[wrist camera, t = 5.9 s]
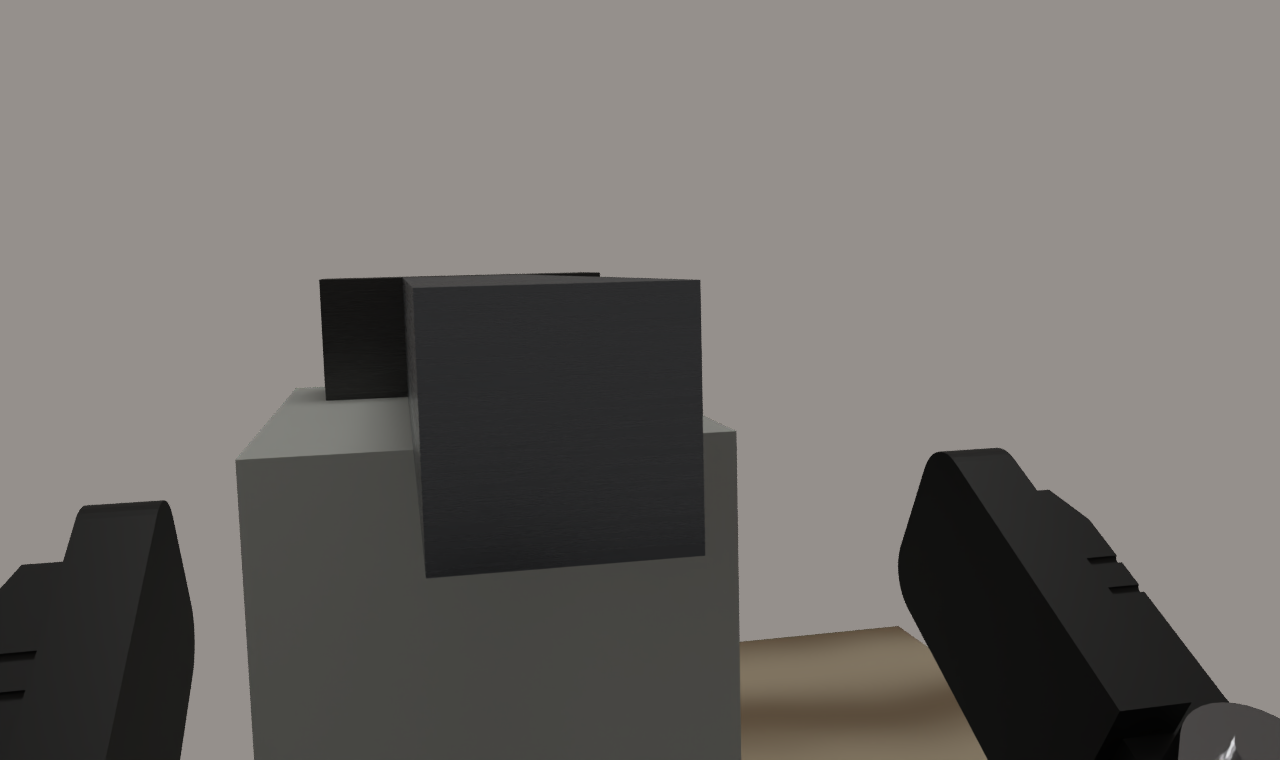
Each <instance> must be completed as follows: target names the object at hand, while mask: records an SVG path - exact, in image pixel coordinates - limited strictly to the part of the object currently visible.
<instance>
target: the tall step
mask: <svg viewBox="0 0 1280 760" xmlns="http://www.w3.org/2000/svg"><path fill="white" fill-rule="evenodd" d="M703 458H704V512H705V556H696V557H683V558H671V559H659V560H647V561H634V562H622V563H610V564H598V565H585V566H573V567H561V568H549V569H536V570H524V571H512V572H500V573H487V574H475V575H463V576H451V577H438V578H426V575H425V565H424V555H423V545H422V535H421V525H420V514H419V504H418V494H417V484H416V474H415V464H414V453H413V443H412V433H411V423H410V413H409V403H408V397H396V398H375V399H354V400H334V401H326V395H325V387H313V388H296V389H295V390H294V391H293V393H292V394H291V395H290V396H289V397H288V399H287V400H286V401H285V402H284V403H283V405H282V406H281V407H280V408H279V409H278V410H277V412H276V413H275V414H274V415H273V416H272V417H271V419H270V420H269V421H268V422H267V424H266V425H265V426H264V427H263V428H262V430H261V431H260V432H259V433H258V434H257V435H256V437H255V438H254V439H253V440H252V441H251V442H250V443H249V445H248V446H247V447H246V448H245V449H244V451H243V452H242V453H241V454H240V455H239V457H238V458H237V459H236V475H237V491H238V507H239V522H240V539H241V555H242V570H243V587H244V601H245V602H244V603H245V619H246V635H247V651H248V665H249V666H248V667H249V683H250V697H251V698H250V699H251V716H252V732H253V747H254V760H741V708H740V642H739V580H738V579H739V577H738V513H737V512H738V511H737V446H736V431H735V430H733V429H731V428H728V427H726V426H724V425H722V424H720V423H718V422H716V421H714V420H712V419H709V418H707V417H705V416H703Z"/></svg>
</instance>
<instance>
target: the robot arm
mask: <svg viewBox="0 0 1280 760" xmlns="http://www.w3.org/2000/svg"><path fill="white" fill-rule="evenodd" d="M898 573H899V581H900V587H901V591H902V595H903V598H904V600H905V603H906V605H907V607H908V609H909V611H910V613H911V615H912V617H913V619H914V621H915V622H916V625H917V626H918V628H919V630H920V632H921V634H922V636H923V638H924V640H925V642H926V643H927V645H928V647H929V649H930V651H931V653H932V655H933V657H934V659H935V661H936V663H937V664H938V666H939V668H940V670H941V672H942V674H943V676H944V678H945V680H946V682H947V684H948V685H949V687H950V689H951V691H952V693H953V695H954V697H955V699H956V701H957V703H958V704H959V706H960V708H961V710H962V712H963V714H964V716H965V718H966V720H967V722H968V723H969V725H970V727H971V729H972V731H973V733H974V735H975V737H976V739H977V741H978V742H979V744H980V746H981V748H982V750H983V752H984V754H985V756H986V758H987V760H1280V719H1279V718H1277V717H1276V716H1274V715H1271V714H1269V713H1267V712H1264V711H1262V710H1259V709H1256V708H1253V707H1250V706H1246V705H1241V704H1236V703H1229V701H1228V700H1227V699H1226V698H1225V697H1224V695H1223V694H1222V693H1221V692H1220V690H1219V689H1218V688H1217V686H1216V685H1215V684H1214V682H1213V681H1212V680H1211V678H1210V677H1209V676H1208V675H1207V673H1206V672H1205V671H1204V669H1203V668H1202V667H1201V666H1200V664H1199V663H1198V661H1197V660H1196V659H1195V657H1194V656H1193V655H1192V654H1191V652H1190V651H1189V650H1188V649H1187V647H1186V646H1185V644H1184V643H1183V642H1182V641H1181V639H1180V638H1179V637H1178V635H1177V634H1176V633H1175V631H1174V630H1173V629H1172V627H1171V626H1170V625H1169V623H1168V622H1167V621H1166V620H1165V618H1164V617H1163V616H1162V614H1161V613H1160V612H1159V611H1158V609H1157V608H1156V606H1155V605H1154V604H1153V602H1152V601H1151V600H1150V599H1149V597H1148V596H1147V595H1146V593H1145V592H1140V591H1139V589H1138V583H1137V582H1136V580H1135V579H1134V578H1133V577H1132V575H1131V574H1130V572H1129V571H1128V570H1127V569H1126V567H1125V566H1124V565H1123V564H1122V562H1121V563H1118V562H1117V561H1116V554H1115V553H1114V551H1113V550H1112V549H1111V547H1110V546H1109V545H1108V544H1107V542H1106V541H1105V540H1104V538H1103V537H1102V536H1101V534H1100V533H1099V532H1098V530H1097V529H1096V528H1095V527H1094V525H1093V524H1092V523H1091V522H1090V520H1089V519H1088V518H1086V517H1085V516H1084V515H1082V514H1081V513H1080V512H1078V511H1077V510H1075V509H1074V508H1073V507H1071V506H1070V505H1069V504H1067V503H1066V502H1065V501H1063V500H1062V499H1061V498H1059V497H1058V496H1057V495H1055V494H1054V493H1052V492H1051V491H1050V490H1041V491H1037V490H1036V488H1035V487H1034V486H1033V484H1032V483H1031V482H1030V480H1029V479H1028V478H1027V476H1026V475H1025V473H1024V472H1023V471H1022V469H1021V468H1020V467H1019V465H1018V464H1017V462H1016V461H1015V460H1014V459H1013V457H1012V456H1011V455H1010V454H1009V453H1008V452H1007V451H1005V450H1003V449H1001V448H990V449H974V450H960V451H944V452H936V453H935V454H933V455H932V456H931V457H930V458H929V460H928V462H927V464H926V466H925V469H924V472H923V475H922V479H921V482H920V485H919V489H918V492H917V496H916V498H915V502H914V505H913V508H912V511H911V515H910V518H909V521H908V524H907V528H906V531H905V534H904V537H903V541H902V544H901V547H900V552H899V559H898ZM194 645H195V640H194V621H193V612H192V606H191V601H190V597H189V592H188V587H187V582H186V577H185V573H184V568H183V563H182V558H181V554H180V549H179V544H178V539H177V534H176V530H175V525H174V520H173V516H172V512H171V509H170V506H169V504H168V503H167V502H166V501H149V502H133V503H119V504H118V503H117V504H102V505H87V506H83V507H82V508H81V509H80V510H79V512H78V514H77V517H76V520H75V523H74V527H73V530H72V533H71V537H70V540H69V543H68V547H67V550H66V554H65V557H64V560H63V562H54V563H41V564H27V565H21V566H20V567H19V569H18V570H17V571H16V572H15V573H14V574H13V575H12V576H11V577H10V578H9V579H8V581H7V582H6V583H5V584H4V585H3V586H2V587H1V588H0V760H180V756H181V750H182V743H183V736H184V730H185V723H186V716H187V709H188V702H189V696H190V689H191V682H192V675H193V668H194V650H195V649H194Z"/></svg>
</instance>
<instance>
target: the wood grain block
mask: <svg viewBox="0 0 1280 760" xmlns="http://www.w3.org/2000/svg"><path fill="white" fill-rule="evenodd" d="M740 708H741V760H987V758H986V756H985V754H984V752H983V750H982V748H981V746H980V744H979V742H978V741H977V739H976V737H975V735H974V733H973V731H972V729H971V727H970V725H969V723H968V722H967V720H966V718H965V716H964V714H963V712H962V710H961V708H960V706H959V704H958V703H957V701H956V699H955V697H954V695H953V693H952V691H951V689H950V687H949V685H948V684H947V682H946V680H945V678H944V676H943V674H942V672H941V670H940V668H939V666H938V664H937V663H936V661H935V659H934V657H933V655H932V653H931V651H930V649H929V648H928V647H927V646H926V645H924V644H923V643H921V642H920V641H919V640H917V639H915V638H914V637H913V636H911V635H910V634H909V633H907V632H906V631H904V630H903V629H902V628H900V627H899V626H895V627H885V628H875V629H865V630H855V631H845V632H835V633H826V634H815V635H805V636H795V637H784V638H774V639H764V640H755V641H744V642H740Z"/></svg>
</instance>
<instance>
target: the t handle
mask: <svg viewBox="0 0 1280 760" xmlns="http://www.w3.org/2000/svg"><path fill="white" fill-rule="evenodd" d="M319 282H320V301H321V320H322V339H323V355H324V356H323V357H324V376H325V395H326V401H334V400H354V399H375V398H396V397H408V403H409V413H410V423H411V433H412V443H413V453H414V464H415V474H416V484H417V494H418V504H419V514H420V525H421V535H422V545H423V555H424V565H425V575H426V578H438V577H451V576H463V575H475V574H487V573H500V572H512V571H524V570H536V569H549V568H561V567H573V566H585V565H598V564H610V563H622V562H634V561H647V560H659V559H671V558H683V557H696V556H705V512H704V458H703V405H702V404H703V403H702V349H701V296H700V295H701V294H700V280H685V279H651V278H619V277H618V278H617V277H600V273H589V272H587V273H586V272H585V273H584V272H583V273H582V272H578V273H539V274H501V275H463V276H462V275H461V276H420V277H382V278H343V279H321V280H319Z"/></svg>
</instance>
